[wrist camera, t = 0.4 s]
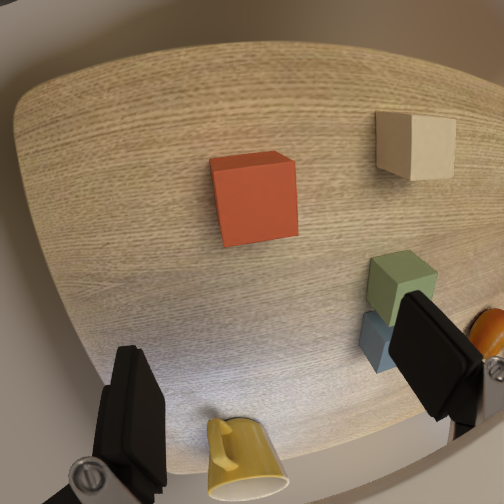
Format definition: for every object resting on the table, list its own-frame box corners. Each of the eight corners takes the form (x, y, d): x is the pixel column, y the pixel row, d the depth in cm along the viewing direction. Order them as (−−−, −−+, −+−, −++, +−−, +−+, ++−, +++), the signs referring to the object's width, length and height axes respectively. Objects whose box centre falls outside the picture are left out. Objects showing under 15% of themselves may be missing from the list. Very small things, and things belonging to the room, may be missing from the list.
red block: (209, 158, 22) (212, 171, 17) (275, 150, 22) (295, 161, 18) (218, 220, 24) (223, 247, 20) (279, 211, 25) (298, 235, 20)
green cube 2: (370, 257, 28) (397, 284, 24) (409, 249, 29) (438, 272, 24) (366, 298, 31) (388, 327, 26) (402, 288, 31) (427, 314, 27)
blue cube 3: (363, 313, 31) (385, 342, 27) (400, 302, 32) (423, 328, 28) (358, 345, 34) (376, 373, 29) (392, 334, 34) (412, 360, 30)
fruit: (478, 363, 39) (509, 368, 32) (453, 347, 39) (487, 351, 31) (493, 320, 41) (524, 320, 33) (470, 300, 41) (503, 298, 33)
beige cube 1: (375, 110, 22) (411, 114, 17) (418, 113, 22) (456, 119, 18) (376, 166, 24) (410, 181, 20) (418, 165, 25) (453, 178, 20)
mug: (275, 434, 40) (292, 491, 31) (211, 447, 40) (219, 505, 30) (264, 386, 34) (285, 459, 25) (182, 402, 33) (186, 476, 24)
